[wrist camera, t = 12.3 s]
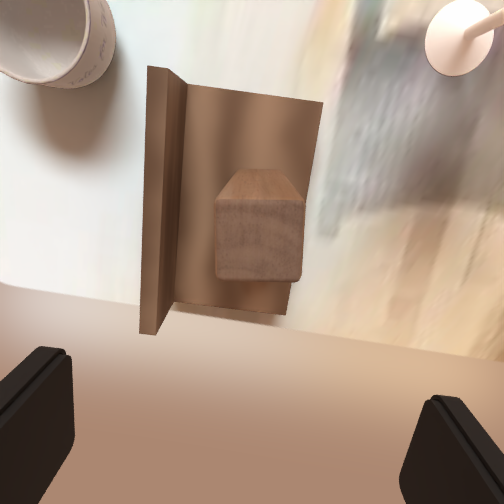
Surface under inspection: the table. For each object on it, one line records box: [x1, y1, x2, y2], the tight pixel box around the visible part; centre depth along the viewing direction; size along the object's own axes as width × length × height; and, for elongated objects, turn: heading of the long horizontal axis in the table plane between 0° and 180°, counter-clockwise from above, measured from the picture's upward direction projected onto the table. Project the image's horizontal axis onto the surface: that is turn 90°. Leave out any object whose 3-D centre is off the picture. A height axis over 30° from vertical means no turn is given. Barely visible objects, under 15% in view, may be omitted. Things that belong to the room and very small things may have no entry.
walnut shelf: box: [139, 66, 323, 335], centre depth 34 cm, size 14×22×12 cm, turn 173°
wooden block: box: [214, 169, 306, 282], centre depth 26 cm, size 9×4×18 cm, turn 179°
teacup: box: [0, 0, 116, 89], centre depth 31 cm, size 14×11×8 cm
